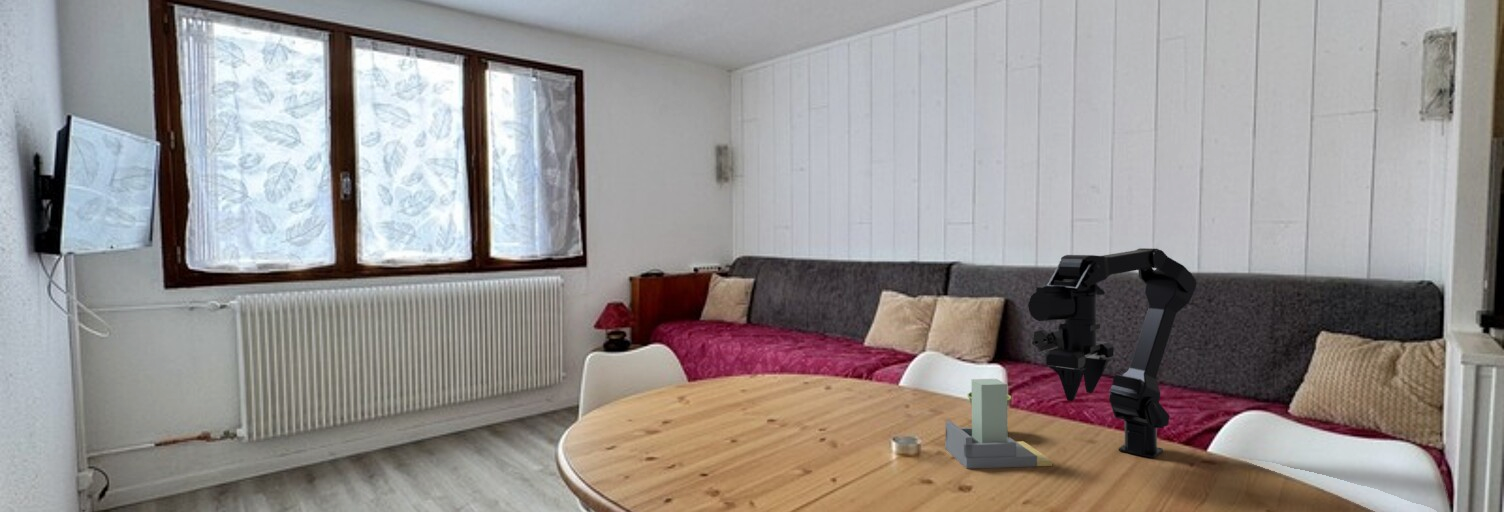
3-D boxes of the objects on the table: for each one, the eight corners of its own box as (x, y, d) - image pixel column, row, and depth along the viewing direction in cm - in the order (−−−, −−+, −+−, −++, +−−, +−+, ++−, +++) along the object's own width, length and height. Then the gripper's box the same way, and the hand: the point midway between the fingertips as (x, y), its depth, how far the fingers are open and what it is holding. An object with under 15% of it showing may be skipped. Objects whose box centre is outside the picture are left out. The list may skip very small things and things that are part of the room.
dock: (1023, 446, 137) (1023, 418, 137) (1052, 465, 125) (1051, 435, 125) (945, 448, 137) (945, 420, 136) (966, 468, 125) (966, 438, 124)
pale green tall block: (997, 442, 134) (997, 378, 134) (1010, 451, 128) (1009, 384, 128) (969, 443, 134) (968, 378, 133) (980, 452, 128) (980, 385, 127)
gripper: (1058, 311, 139) (1058, 383, 139) (1017, 319, 126) (1018, 398, 127) (1114, 315, 130) (1114, 391, 131) (1076, 324, 118) (1077, 408, 118)
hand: (1080, 396), depth 127 cm, fingers open, 9 cm apart
